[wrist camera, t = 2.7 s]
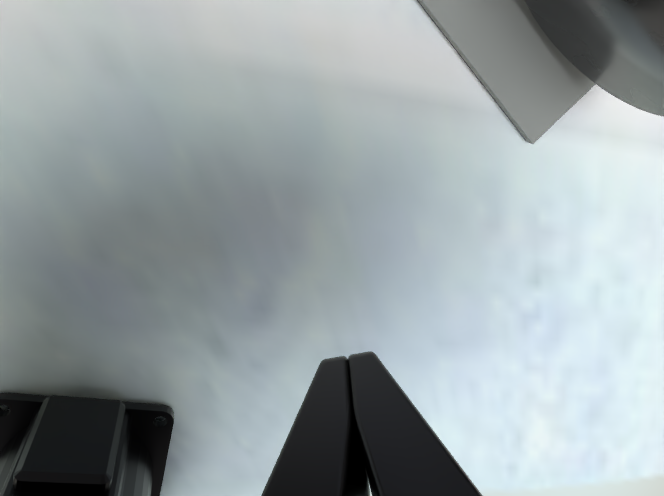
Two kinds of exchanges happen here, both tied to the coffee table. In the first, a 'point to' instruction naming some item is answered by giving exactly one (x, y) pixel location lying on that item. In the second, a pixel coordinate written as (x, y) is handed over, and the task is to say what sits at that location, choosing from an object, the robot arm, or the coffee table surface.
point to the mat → (512, 60)
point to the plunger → (611, 44)
